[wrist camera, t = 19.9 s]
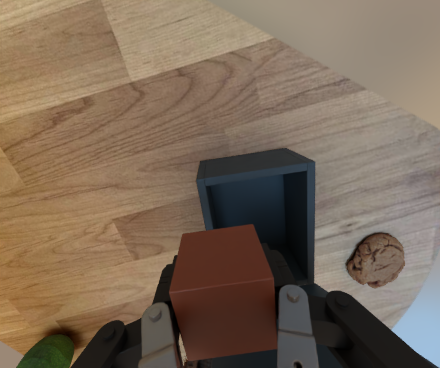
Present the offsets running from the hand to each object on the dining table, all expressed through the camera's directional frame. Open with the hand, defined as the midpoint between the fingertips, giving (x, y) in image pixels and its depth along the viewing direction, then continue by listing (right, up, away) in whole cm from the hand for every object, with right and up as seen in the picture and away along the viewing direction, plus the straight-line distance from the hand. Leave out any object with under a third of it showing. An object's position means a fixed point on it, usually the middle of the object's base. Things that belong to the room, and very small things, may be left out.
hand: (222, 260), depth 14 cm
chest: (+4, +2, +19) cm, 20 cm away
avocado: (-31, -25, +27) cm, 48 cm away
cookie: (+28, -8, +24) cm, 38 cm away
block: (0, 0, 0) cm, 0 cm away
